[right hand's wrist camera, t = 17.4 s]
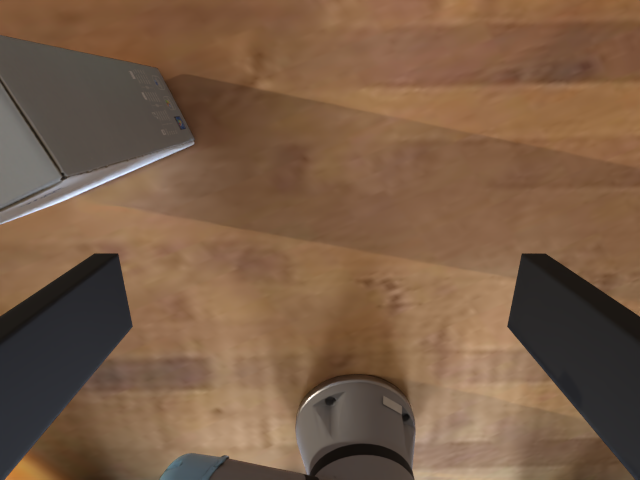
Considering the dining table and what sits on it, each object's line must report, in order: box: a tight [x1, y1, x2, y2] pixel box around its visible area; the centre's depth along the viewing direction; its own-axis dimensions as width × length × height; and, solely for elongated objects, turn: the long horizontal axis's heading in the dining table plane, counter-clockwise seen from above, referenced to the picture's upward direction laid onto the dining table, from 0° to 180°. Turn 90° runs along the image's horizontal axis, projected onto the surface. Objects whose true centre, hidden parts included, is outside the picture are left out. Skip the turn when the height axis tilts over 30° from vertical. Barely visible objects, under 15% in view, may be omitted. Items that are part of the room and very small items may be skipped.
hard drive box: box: [0, 35, 195, 224], centre depth 28 cm, size 16×8×20 cm, turn 113°
